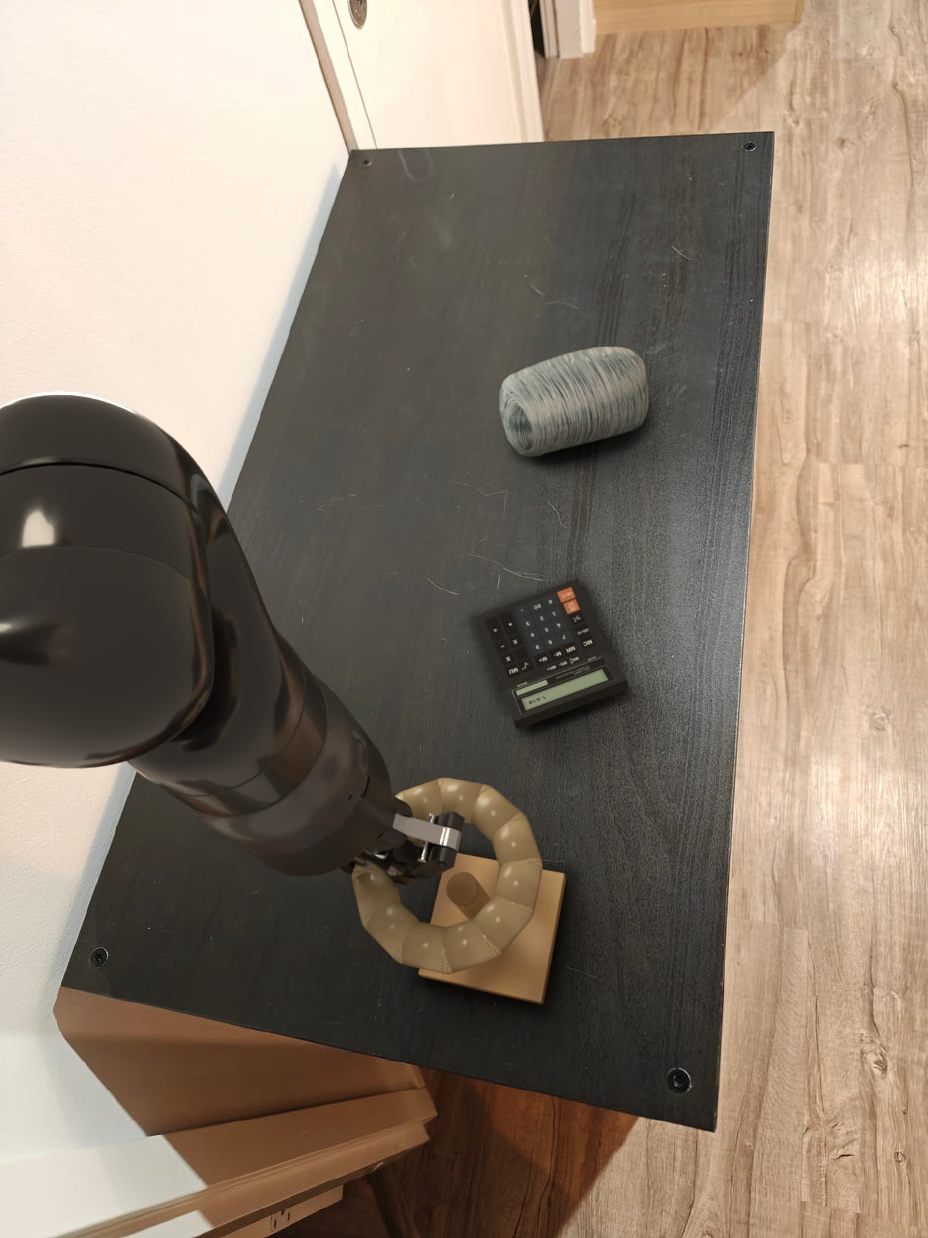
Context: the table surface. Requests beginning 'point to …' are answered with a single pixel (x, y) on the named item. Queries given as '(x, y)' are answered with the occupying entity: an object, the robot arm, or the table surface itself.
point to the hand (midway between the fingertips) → (383, 862)
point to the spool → (574, 400)
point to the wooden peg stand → (528, 953)
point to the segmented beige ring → (500, 914)
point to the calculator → (549, 654)
